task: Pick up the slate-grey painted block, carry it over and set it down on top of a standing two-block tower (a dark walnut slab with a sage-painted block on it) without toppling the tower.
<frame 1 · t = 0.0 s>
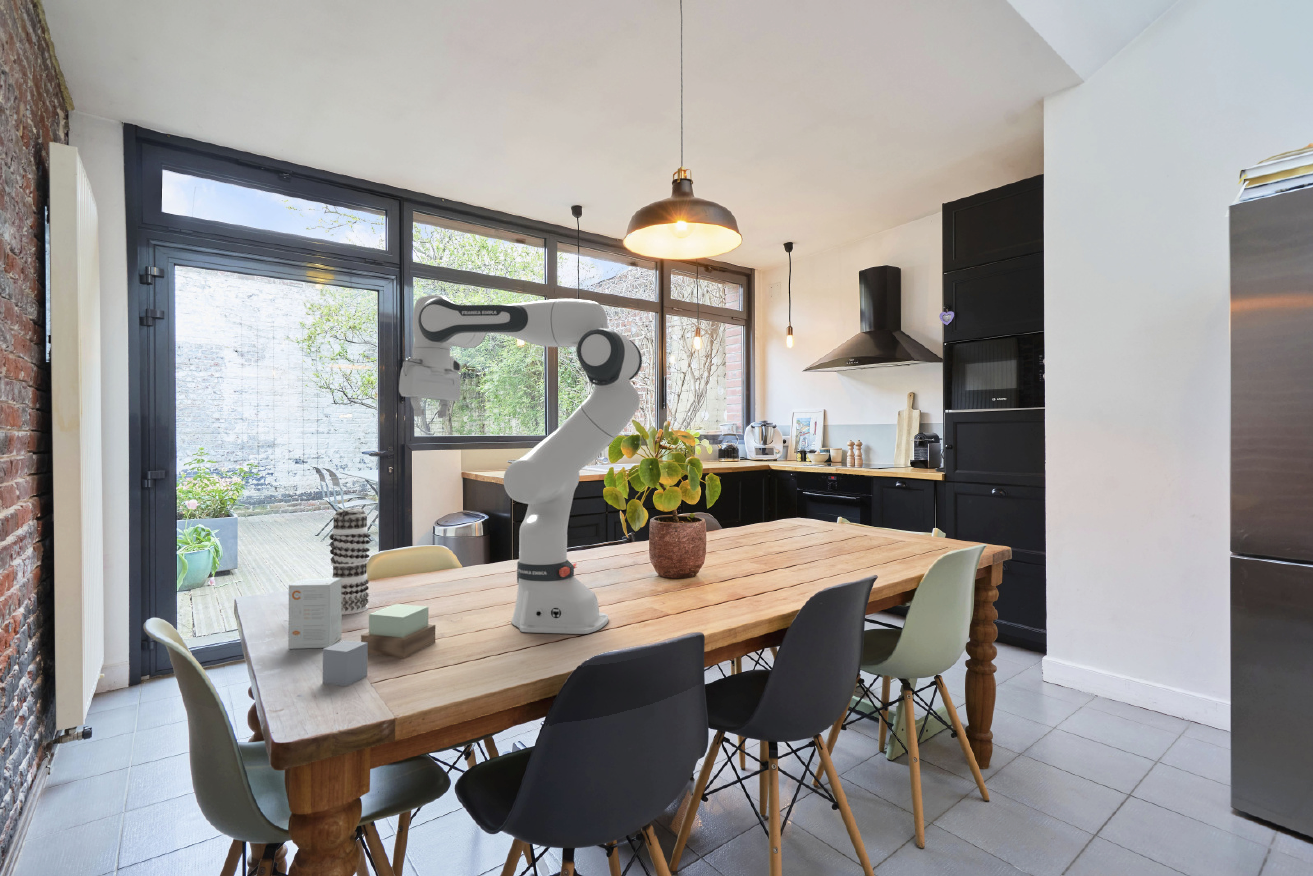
hand: (430, 417, 153), 48 cm above the table, fingers open, 8 cm apart
small box: (315, 644, 128), on the table
decorative candle: (349, 610, 153), on the table
block: (345, 679, 109), on the table
tower base: (399, 649, 126), on the table, touching tower top
tower top: (399, 629, 126), point 4 cm above the table, touching tower base
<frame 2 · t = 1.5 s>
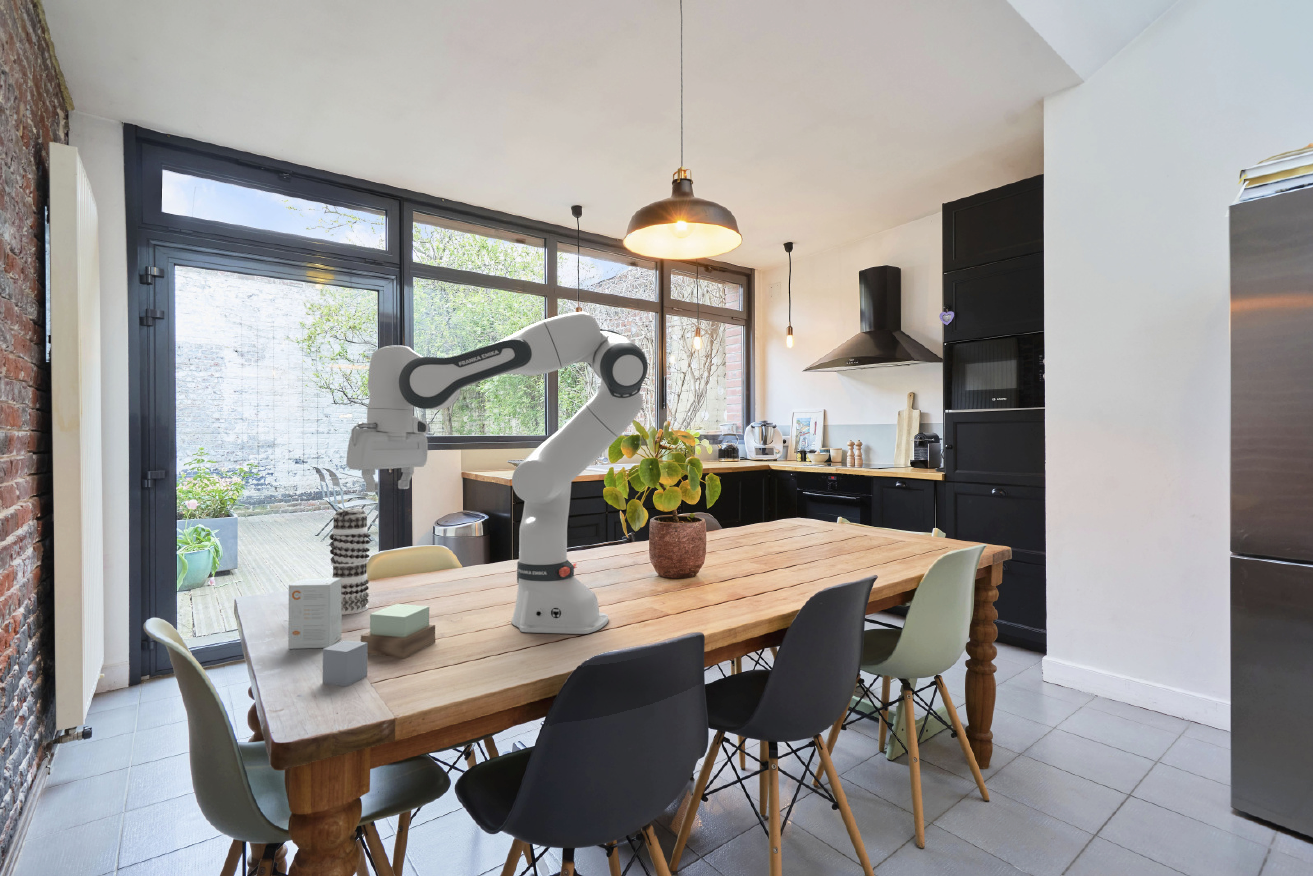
hand: (388, 490, 128), 32 cm above the table, fingers open, 8 cm apart
nothing on the table moved.
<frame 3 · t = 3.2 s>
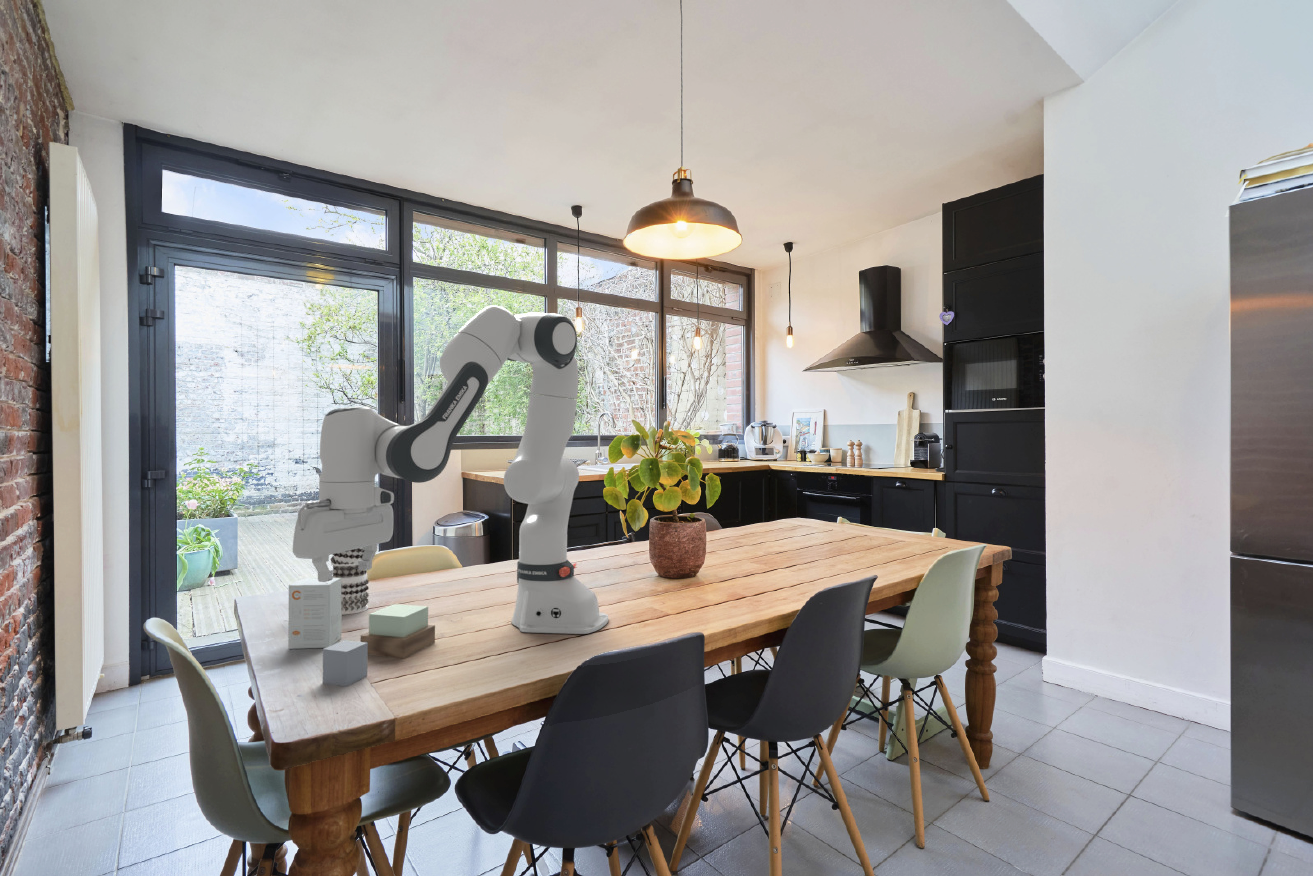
hand: (346, 575, 109), 18 cm above the table, fingers open, 8 cm apart
nothing on the table moved.
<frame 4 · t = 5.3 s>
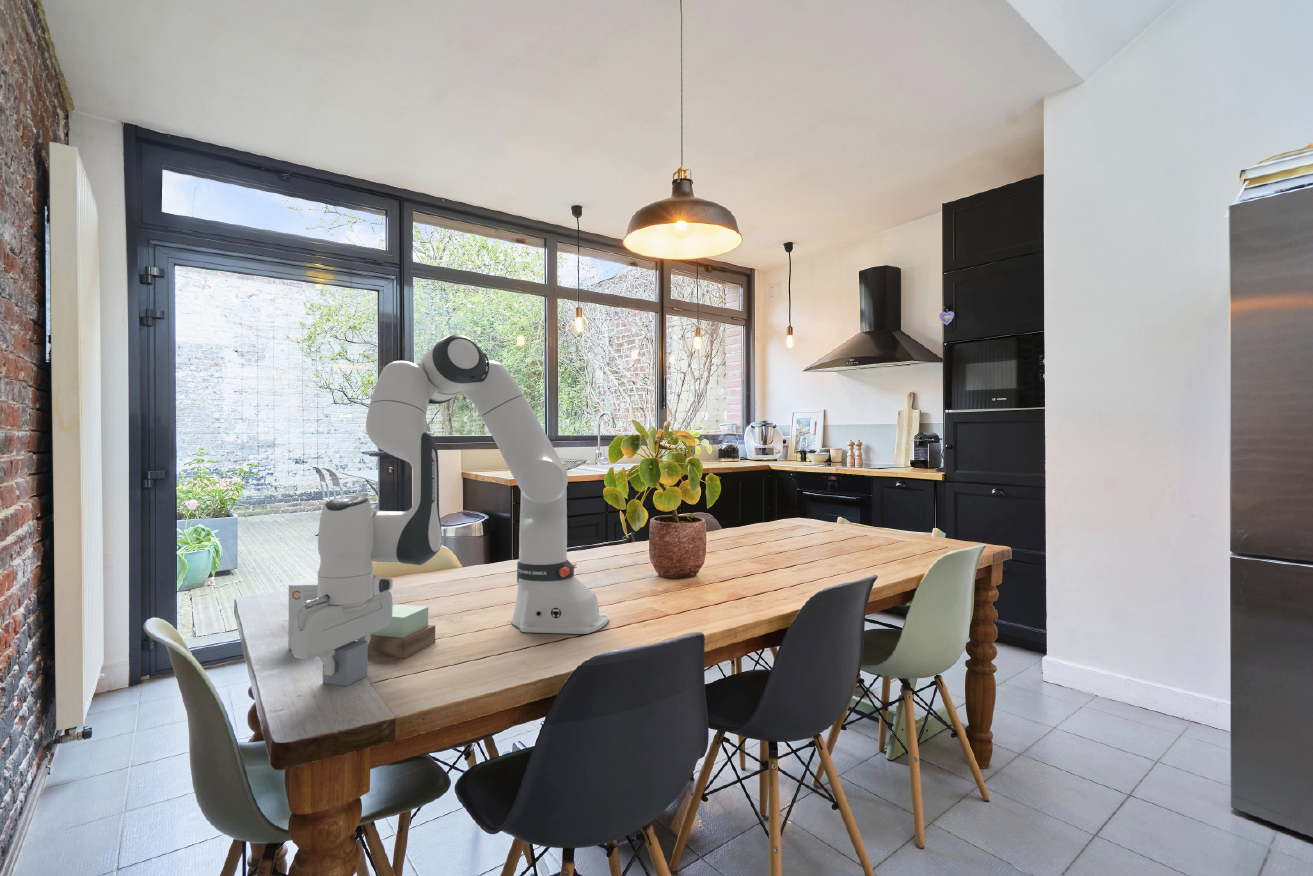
hand: (345, 667, 109), 2 cm above the table, fingers closed on block, 5 cm apart
block: (345, 679, 109), on the table, touching gripper
everything else where it was.
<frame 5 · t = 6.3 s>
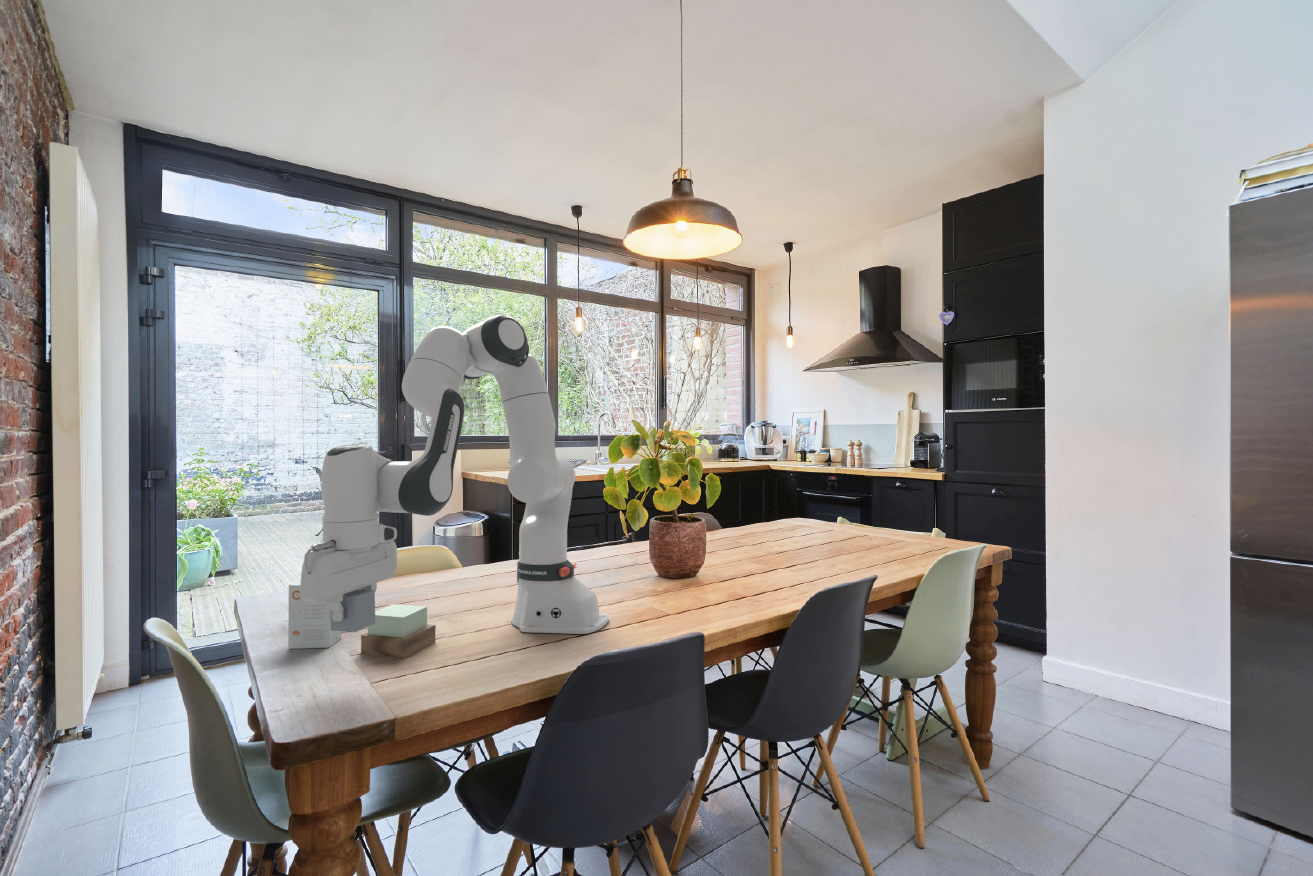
hand: (353, 615, 109), 12 cm above the table, fingers closed on block, 5 cm apart
block: (353, 627, 108), point 10 cm above the table, touching gripper
everything else where it was.
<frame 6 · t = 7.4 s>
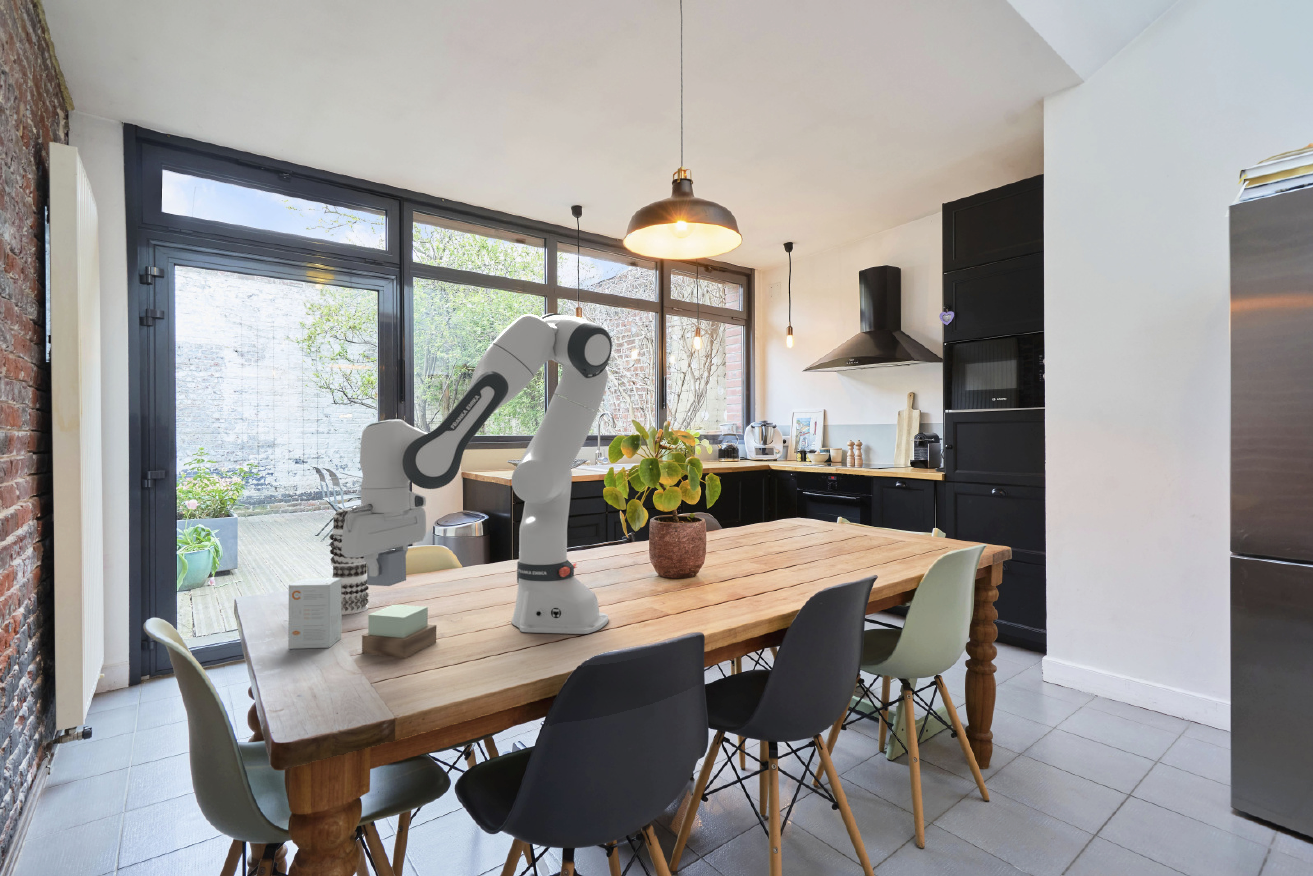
hand: (387, 572, 122), 16 cm above the table, fingers closed on block, 5 cm apart
block: (387, 582, 122), point 14 cm above the table, touching gripper
tower base: (400, 649, 126), on the table
tower top: (398, 630, 126), point 4 cm above the table
everything else where it was.
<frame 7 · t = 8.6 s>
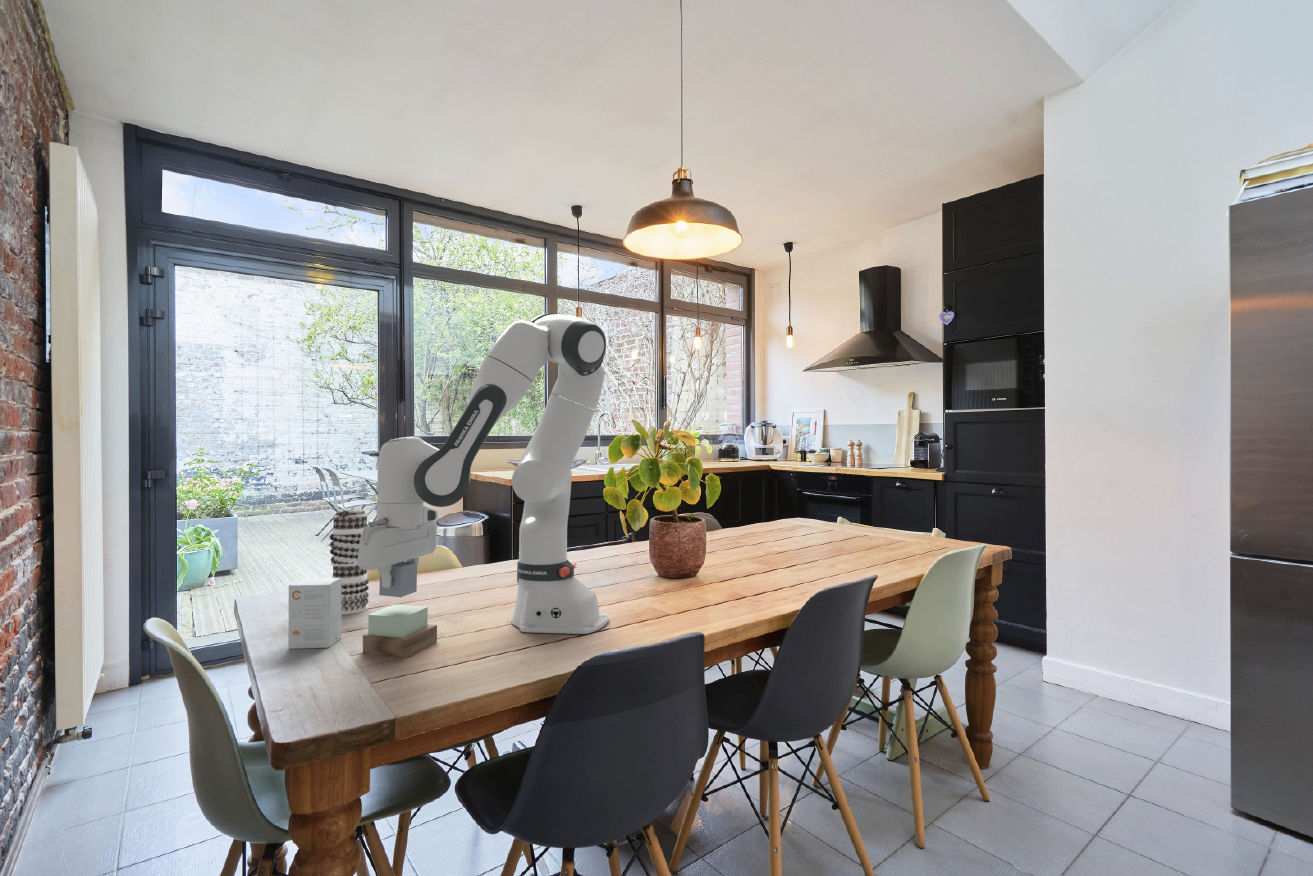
hand: (398, 583, 126), 13 cm above the table, fingers closed on block, 5 cm apart
block: (398, 593, 126), point 11 cm above the table, touching gripper
tower base: (400, 649, 126), on the table, touching tower top
tower top: (398, 630, 126), point 4 cm above the table, touching tower base
everything else where it was.
when the fingers open (12 cm above the table, at t = 9.2 s): block drops 2 cm, resting on tower top.
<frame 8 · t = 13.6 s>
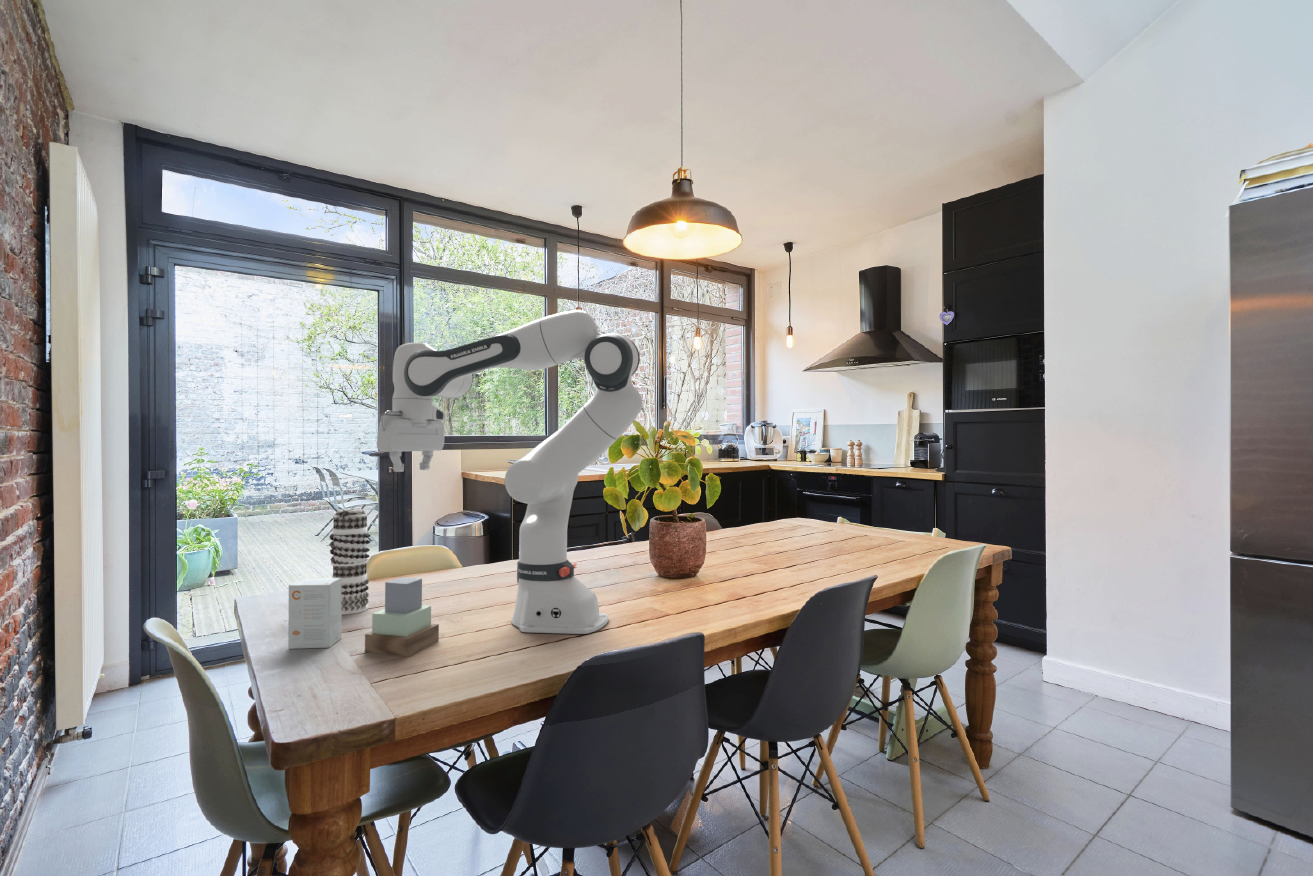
hand: (412, 470, 145), 35 cm above the table, fingers open, 8 cm apart
block: (403, 609, 127), point 7 cm above the table, touching tower top
tower top: (402, 629, 127), point 3 cm above the table, touching block, tower base
everything else where it was.
at the end: block inside the target area on the tower top (0.2 cm from its centre), point 4.0 cm above the tower top's base; block tilted 0°; tower top point 3.5 cm above the table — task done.
